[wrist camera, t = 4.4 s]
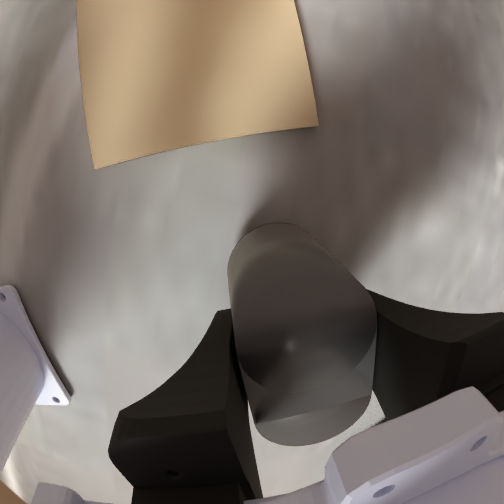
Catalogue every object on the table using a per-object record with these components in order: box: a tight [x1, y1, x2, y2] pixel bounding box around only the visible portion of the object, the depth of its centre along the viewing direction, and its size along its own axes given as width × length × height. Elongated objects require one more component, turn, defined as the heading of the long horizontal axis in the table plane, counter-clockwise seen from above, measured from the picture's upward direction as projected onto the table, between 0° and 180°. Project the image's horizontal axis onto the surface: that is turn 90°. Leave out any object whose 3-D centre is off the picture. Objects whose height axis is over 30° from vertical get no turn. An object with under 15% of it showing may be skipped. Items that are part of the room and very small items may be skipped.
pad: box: [77, 0, 319, 169], centre depth 10 cm, size 9×9×1 cm
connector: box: [228, 223, 377, 446], centre depth 11 cm, size 9×4×5 cm, turn 9°
